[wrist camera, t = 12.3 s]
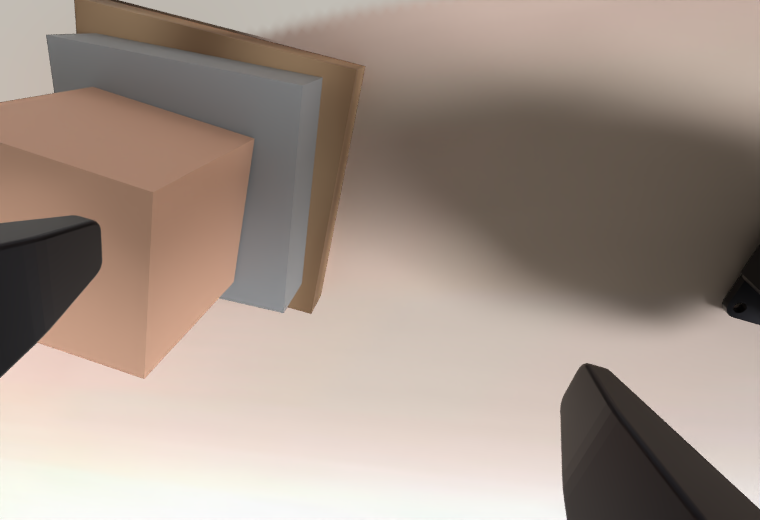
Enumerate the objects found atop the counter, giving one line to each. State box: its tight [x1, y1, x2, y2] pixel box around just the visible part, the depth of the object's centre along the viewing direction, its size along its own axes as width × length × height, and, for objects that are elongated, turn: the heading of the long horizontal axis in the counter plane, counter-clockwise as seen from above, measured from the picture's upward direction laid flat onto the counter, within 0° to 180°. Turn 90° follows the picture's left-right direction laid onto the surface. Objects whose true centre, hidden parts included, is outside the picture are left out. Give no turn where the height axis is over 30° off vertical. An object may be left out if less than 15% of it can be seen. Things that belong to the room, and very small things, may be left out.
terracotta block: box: [0, 87, 255, 379], centre depth 16 cm, size 6×6×6 cm
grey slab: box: [46, 33, 323, 313], centre depth 19 cm, size 9×9×2 cm
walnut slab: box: [74, 0, 365, 314], centre depth 22 cm, size 11×11×2 cm
